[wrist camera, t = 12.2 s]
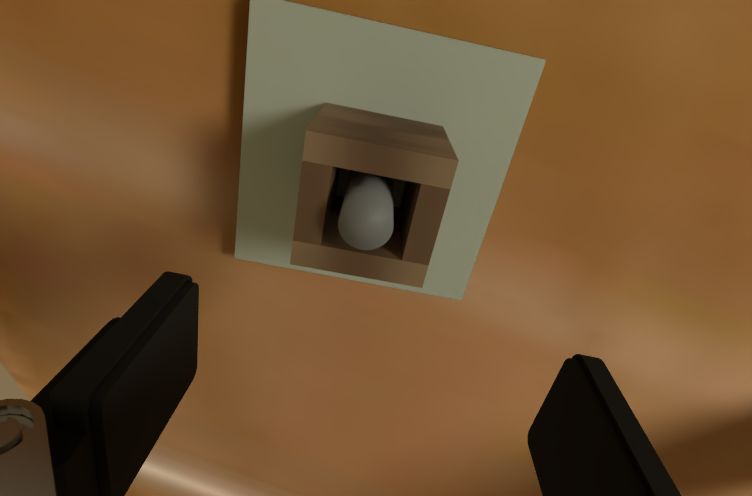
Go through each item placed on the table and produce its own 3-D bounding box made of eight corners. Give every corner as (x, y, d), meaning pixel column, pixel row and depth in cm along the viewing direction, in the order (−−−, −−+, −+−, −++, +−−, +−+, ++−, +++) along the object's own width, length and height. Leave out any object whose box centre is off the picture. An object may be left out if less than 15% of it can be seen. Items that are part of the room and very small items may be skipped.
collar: (442, 126, 23) (458, 160, 17) (415, 230, 25) (422, 288, 20) (326, 102, 22) (305, 130, 17) (311, 210, 25) (289, 264, 20)
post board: (538, 57, 22) (610, 79, 15) (458, 289, 29) (482, 383, 21) (257, -6, 21) (188, -16, 14) (240, 248, 28) (186, 332, 20)
